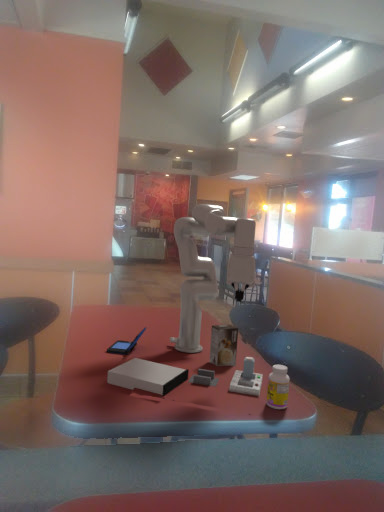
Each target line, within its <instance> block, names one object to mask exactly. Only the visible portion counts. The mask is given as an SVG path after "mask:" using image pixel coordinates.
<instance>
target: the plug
mask: <svg viewBox="0 0 384 512" xmlns="http://www.w3.org/2000/svg"><path fill="white" fill-rule="evenodd" d="M255 360H256V359H255V358H254V357H252V356H246V357H244V360H243V368H242V369H243V370H242V371H243V378H250V379H253V374H254V373H255V362H256V361H255Z"/></svg>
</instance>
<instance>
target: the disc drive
mask: <svg viewBox="0 0 384 512" xmlns="http://www.w3.org/2000/svg"><path fill="white" fill-rule="evenodd" d="M189 372H190V371H189V368H188V369H187V368H186V369H184V368H180V367H177V366H171V365H168V364H163V363H159V362H154V361H150V360H146V359H141V358H138V357H134V358H132V359H130V360H128V361H125V362H124V363H122V364H119V365H117V366H116V367H113V368H112V369H109V370H107V377H106V378H107V379H106V381H107V382H106V383H107V384H109V385H113V386H117V387H120V388H123V389H128V390H132V391H133V390H135V388H136V389H139V390H143V391H146V392H151V393H153V394H158V395H161V396H163V397H161V396H159V398H161V399H163V400H165V398H166V397H165V396H167V395H168V394H170V393H171V392H172V391H173V390H175V389H176V388H178V387H179V386H181V385H182V384H184V382H186V381H187V380H189Z"/></svg>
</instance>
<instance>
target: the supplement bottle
mask: <svg viewBox="0 0 384 512" xmlns="http://www.w3.org/2000/svg"><path fill="white" fill-rule="evenodd" d="M288 369H289V368H288V367H287V366H286V365H283V364H274V365H272V372H270V373H269V375H268V379H267V380H268V381H267V391H266V403H265V404H266V405H267V407H270V408H271V409H274V410H284V409H286V408H287V407H288V400H289V389H290V380H291V379H290V376H289V375H288V374H287V373H288Z"/></svg>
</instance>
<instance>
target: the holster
mask: <svg viewBox="0 0 384 512" xmlns="http://www.w3.org/2000/svg"><path fill="white" fill-rule="evenodd" d="M215 373H216V371H215V370H211V369H210V370H209V369H204V368H198V369H197V374H195V373H194V374H192V375H191V376H190V378H188V381H187V383H192V384H197V385H204V386H209V387H217V384H218V383H219V380H220V378H218V377H215Z"/></svg>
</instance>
